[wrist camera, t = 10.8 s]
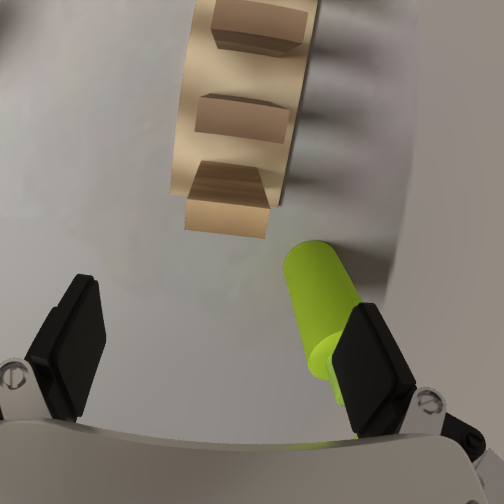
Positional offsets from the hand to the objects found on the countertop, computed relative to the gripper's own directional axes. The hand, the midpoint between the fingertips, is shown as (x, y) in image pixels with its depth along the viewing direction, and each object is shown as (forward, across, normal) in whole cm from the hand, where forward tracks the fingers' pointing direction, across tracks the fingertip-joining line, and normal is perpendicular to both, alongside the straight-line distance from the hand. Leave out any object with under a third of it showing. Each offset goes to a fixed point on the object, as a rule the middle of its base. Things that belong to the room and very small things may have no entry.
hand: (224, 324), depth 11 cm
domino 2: (+19, 0, -6) cm, 20 cm away
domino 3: (+19, 0, 0) cm, 19 cm away
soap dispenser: (+20, -10, +9) cm, 24 cm away
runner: (+20, 0, -12) cm, 23 cm away
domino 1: (+20, 0, -12) cm, 23 cm away
